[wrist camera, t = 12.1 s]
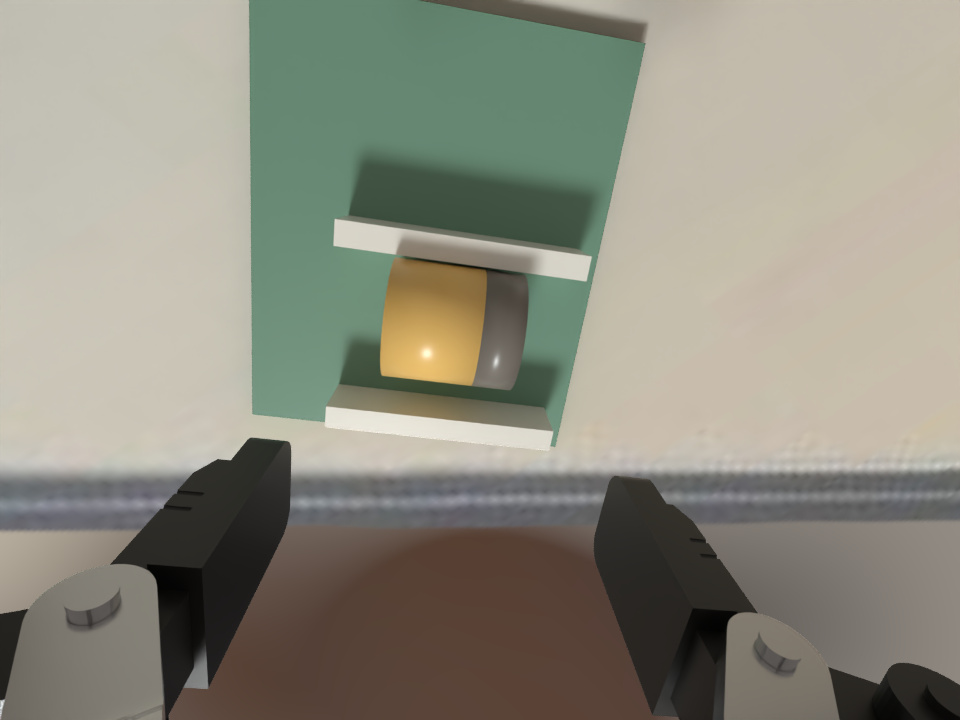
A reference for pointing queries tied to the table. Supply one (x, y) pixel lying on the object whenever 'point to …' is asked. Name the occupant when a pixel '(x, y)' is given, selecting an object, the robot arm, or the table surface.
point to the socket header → (434, 411)
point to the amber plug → (453, 324)
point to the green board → (419, 178)
